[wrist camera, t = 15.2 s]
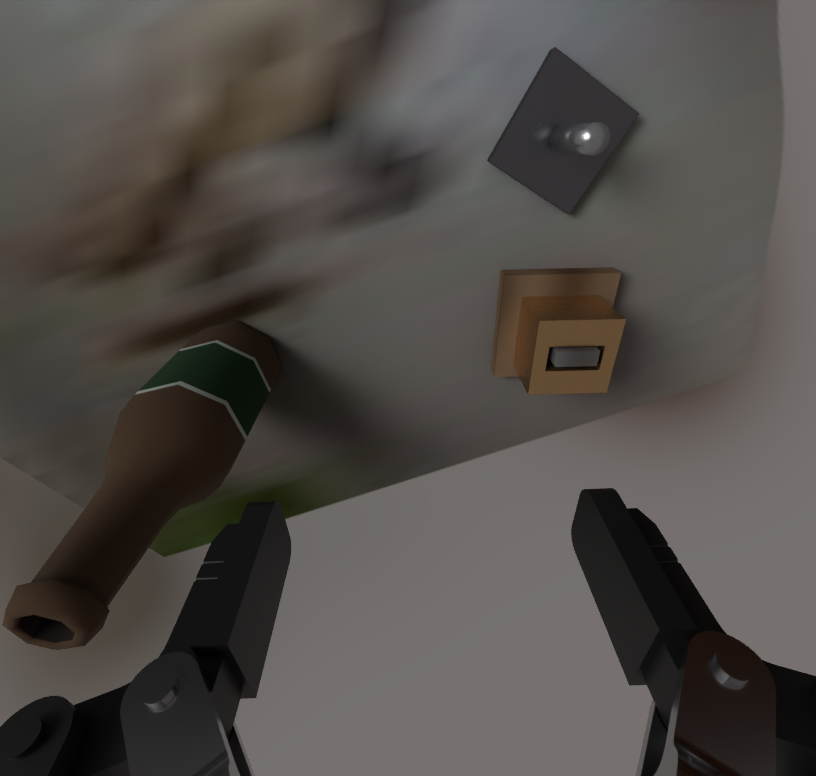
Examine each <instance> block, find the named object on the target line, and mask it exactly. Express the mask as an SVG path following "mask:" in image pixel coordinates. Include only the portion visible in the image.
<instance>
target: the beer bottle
mask: <svg viewBox="0 0 816 776" xmlns="http://www.w3.org/2000/svg"><path fill="white" fill-rule="evenodd" d="M281 367H282V365H281V363H280V361H279V358H278V356H277V354H276V352H275V350H274V348H273V345H272V343H271V341H270V339H269V337H268V336H267V335H265V334H263V333H261V332H259V331H257V330H255V329H253V328H251V327H249V326H247V325H245V324H243V323H241V322H239V321H232V322H228V323H224V324H220V325H216V326H212V327H208V328H204V329H203V330H201V331H200V332H199V333H198V334H196V335H195V336H194V337H193V338H192V339H191V340H190V341H189V342H188V343H187V344H186V345H185V346H184V347H183V348H182V349H181V350H180V351H179V352H178V353H177V354H176V355H175V356H174V357H173V358H172V359H171V360H170V361H169V362H167V363H166V364H165V365H164V366H163V367H162V368H161V369H160V370H159V371H158V372H157V373H156V374H155V375H154V376H153V377H152V378H151V379H150V380H149V381H148V382H147V383H146V384H145V385H144V386H143V387H142V388H141V389H140V390H139V391H138V392H137V393H136V394H135V395H134V396H133V398H132V399H131V400H130V401H129V402H128V404H127V405H126V406H125V407H124V409H123V410H122V411H121V412H120V415H119V418H118V421H117V424H116V427H115V431H114V434H113V437H112V440H111V444H110V447H109V450H108V454H107V457H106V460H105V470H106V478H105V480H104V482H103V484H102V486H101V488H100V489H99V490H98V492H97V493H96V494H95V496H94V497H93V499H92V500H91V501H90V503H89V504H88V505H87V507H86V508H85V510H84V511H83V512H82V514H81V515H80V516H79V518H78V519H77V521H76V522H75V523H74V525H73V526H72V527H71V529H70V530H69V531H68V533H67V534H66V535H65V537H64V538H63V540H62V541H61V542H60V544H59V545H58V546H57V548H56V549H55V550H54V552H53V553H52V555H51V556H50V557H49V559H48V560H47V561H46V563H45V564H44V565H43V567H42V568H41V570H40V571H39V572H38V574H37V575H36V576H35V578H34V579H33V580H32V582H31V583H27V584H23V585H18V586H17V587H16V589H15V591H14V593H13V595H12V597H11V599H10V601H9V603H8V606H7V608H6V611H5V616H4V622H3V626H4V627H6V628H7V629H9V630H10V631H11V632H13V633H14V634H15V635H17V636H18V637H19V638H21V639H22V640H23V641H25V642H26V643H28V644H33V645H37V646H41V647H46V648H50V649H55V650H60V649H66V648H72V647H78V646H85V645H86V644H87V643H88V642H89V641H90V640H91V639H92V638H93V637H94V636H95V635H96V634H97V633H98V632H99V631H100V630H101V629H102V628H103V625H104V623H105V620H106V618H107V615H108V613H109V609H108V607H107V606H108V605H109V604H110V602H111V601H112V599H113V598H114V596H115V595H116V594H117V592H118V591H119V589H120V588H121V586H122V585H123V584H124V582H125V581H126V579H127V578H128V576H129V575H130V573H131V572H132V571H133V569H134V568H135V566H136V565H137V563H138V562H139V561H140V559H141V557H142V556H143V555H144V553H145V552H146V551H147V549H148V548H149V546H150V545H151V543H152V542H153V540H154V539H155V538H156V536H157V535H158V533H159V532H160V530H161V529H162V528H163V526H164V525H165V524H166V523H167V522H168V521H169V520H170V519H171V518H172V516H173V515H174V514H175V513H176V512H177V511H178V510H179V509H180V508H183V507H185V506H188V505H190V504H193V503H195V502H198V501H200V500H203V499H205V498H206V497H207V496H208V495H210V494H211V493H212V492H213V491H215V490H216V489H217V488H218V487H220V485H221V484H222V482H223V481H224V479H225V477H226V476H227V474H228V473H229V471H230V470H231V468H232V466H233V464H234V462H235V460H236V458H237V456H238V454H239V452H240V450H241V448H242V446H243V444H244V442H245V440H246V438H247V436H248V434H249V432H250V430H251V428H252V426H253V424H254V422H255V420H256V418H257V416H258V414H259V412H260V410H261V408H262V406H263V404H264V403H265V401H266V399H267V397H268V395H269V393H270V391H271V389H272V387H273V385H274V383H275V381H276V379H277V377H278V375H279V372H280V369H281Z"/></svg>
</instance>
